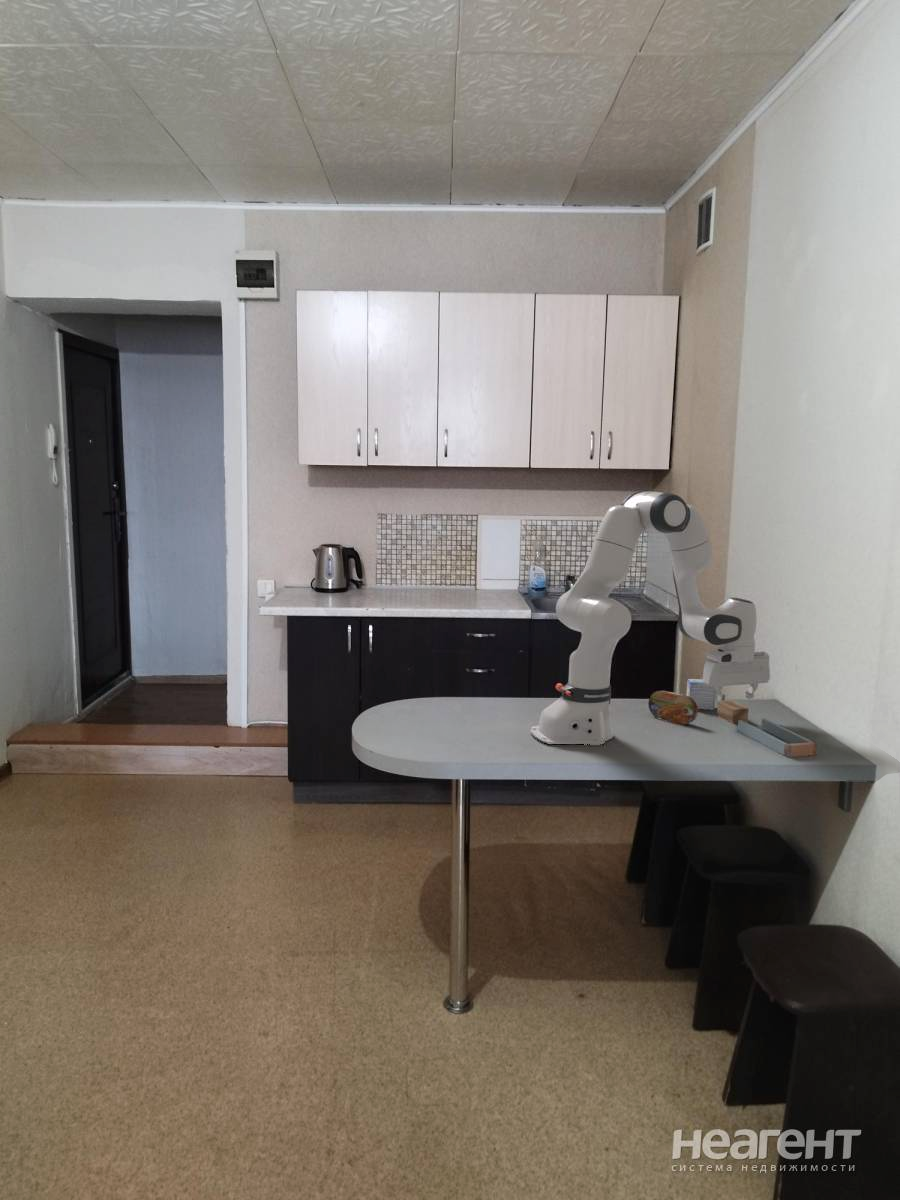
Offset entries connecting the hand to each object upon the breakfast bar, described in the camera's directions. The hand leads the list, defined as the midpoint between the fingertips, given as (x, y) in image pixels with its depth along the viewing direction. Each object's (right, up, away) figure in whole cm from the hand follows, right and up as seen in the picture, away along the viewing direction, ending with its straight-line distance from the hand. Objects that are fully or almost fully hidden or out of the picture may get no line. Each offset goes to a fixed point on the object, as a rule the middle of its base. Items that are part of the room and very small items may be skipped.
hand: (735, 699), depth 238 cm
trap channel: (+4, -9, -18) cm, 21 cm away
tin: (-19, -7, -1) cm, 20 cm away
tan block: (0, -6, +2) cm, 7 cm away
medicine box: (-7, -5, +12) cm, 15 cm away
